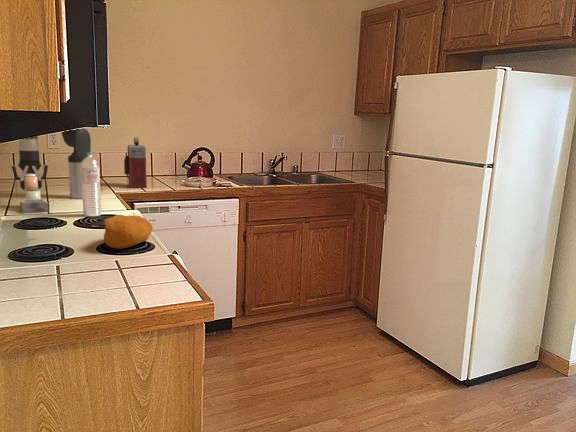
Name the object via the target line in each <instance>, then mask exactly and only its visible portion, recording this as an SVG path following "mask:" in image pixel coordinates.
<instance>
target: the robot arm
mask: <svg viewBox="0 0 576 432" xmlns="http://www.w3.org/2000/svg"><path fill="white" fill-rule="evenodd" d="M81 128H82V129H76V130H69V131H64V132H61V136H62V138H63V142H64V143H65V144H66V145H67V146H68V147H71V148H73V151H72V153H71V154H70V155H68V157H67V165H68V180H69V181H68V182H69V184H68V185H69V198H70V199H74V200H75V199H77V200H78V199H80V200H81V199H82V172H81V162H82V161H83V160H84V159H85V158H86V157H87V156H88V155H87V153H92V152H91V149H92V148H91V146H92V145H91V144H92V143H91V142H92V141H91V134H90V132H89V131H88V129H86V128H83V127H81ZM18 155H19V163H18V164H16V165H15V164H13V165H11V169H12V173H13V176H14V179H15V180H17V181H19V182H20V185H19V187H20V189H21V190H22V191H24V190H25V189H24V177H25V175H26V174H31V173H32V174H36V176H37V178H38V188H39V190H41V189H42V187H43V186H42V185H43V182H42V181H43V180H46V179H47V175H48V174H47V173H48V169H49V168H48V167H49V165H48V164H42V163H41V161H40V147H39V139H38V135H37V136H35V137H30V138H25V139H21V140H19V139H18ZM19 168H20V170H21V171H22V172H21V175H20V176H18V173H17V171H18V170H19ZM40 168H41V169H42V170H43V173H42V176H41V175H40V173H39V169H40ZM82 200H83V199H82Z"/></svg>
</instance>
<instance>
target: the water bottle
mask: <svg viewBox="0 0 576 432" xmlns="http://www.w3.org/2000/svg"><path fill="white" fill-rule="evenodd" d="M87 155H88V156H87V157H86V158H85V159H84V160H83V161H82V162H81V172H82V213H83V216H84V217H90V218H91V217H99V216H100V217H101V215H102V201H101V200H102V198H101V197H102V196H101V195H102V194H101V178H100V176H101V175H100V162H99V161H98V159H96V158H95V157H93V152H91V153H87Z"/></svg>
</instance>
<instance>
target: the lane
mask: <svg viewBox="0 0 576 432" xmlns="http://www.w3.org/2000/svg"><path fill="white" fill-rule="evenodd" d="M19 205H20V210H21V212H22V214H35V213H36V214H37V213H38V212H39V213H49V202H48V201H44V202H36V203H25V202H23V201H21V202H19Z"/></svg>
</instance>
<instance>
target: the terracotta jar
mask: <svg viewBox="0 0 576 432" xmlns="http://www.w3.org/2000/svg"><path fill="white" fill-rule="evenodd" d="M23 181H24V189H25V190H23V192H24V196H25V197H26V188H30V187H38V178H37V176H36V174H32V173H29V174H26V175H25V177H24V179H23Z"/></svg>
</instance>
